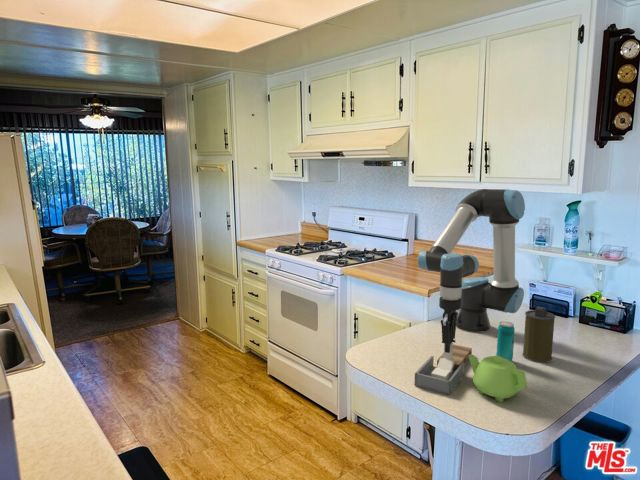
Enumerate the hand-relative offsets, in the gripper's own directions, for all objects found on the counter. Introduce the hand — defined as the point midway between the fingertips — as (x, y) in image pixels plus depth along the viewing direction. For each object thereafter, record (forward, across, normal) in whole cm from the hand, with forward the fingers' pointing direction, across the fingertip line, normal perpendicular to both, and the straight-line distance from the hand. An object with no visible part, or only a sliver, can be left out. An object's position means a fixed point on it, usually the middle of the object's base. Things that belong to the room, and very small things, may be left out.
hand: (447, 359), depth 162 cm
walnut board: (+4, -9, 0) cm, 10 cm away
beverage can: (+4, -19, +16) cm, 25 cm away
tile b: (+2, +8, 0) cm, 8 cm away
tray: (+4, +9, 0) cm, 10 cm away
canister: (+4, -30, +26) cm, 40 cm away
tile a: (+2, +2, 0) cm, 3 cm away
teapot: (+4, +8, +18) cm, 21 cm away
